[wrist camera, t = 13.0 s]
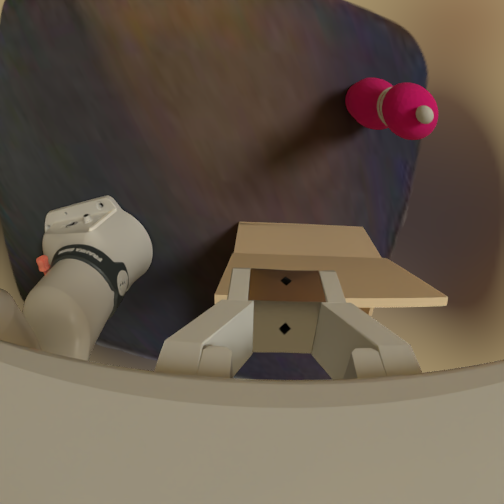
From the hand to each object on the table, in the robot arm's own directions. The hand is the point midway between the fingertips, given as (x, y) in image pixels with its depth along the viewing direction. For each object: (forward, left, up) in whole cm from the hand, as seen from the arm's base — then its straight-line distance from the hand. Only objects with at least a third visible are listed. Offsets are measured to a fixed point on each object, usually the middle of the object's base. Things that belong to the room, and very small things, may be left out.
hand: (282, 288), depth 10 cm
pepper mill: (+14, +5, -39) cm, 42 cm away
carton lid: (+6, -12, -20) cm, 24 cm away
